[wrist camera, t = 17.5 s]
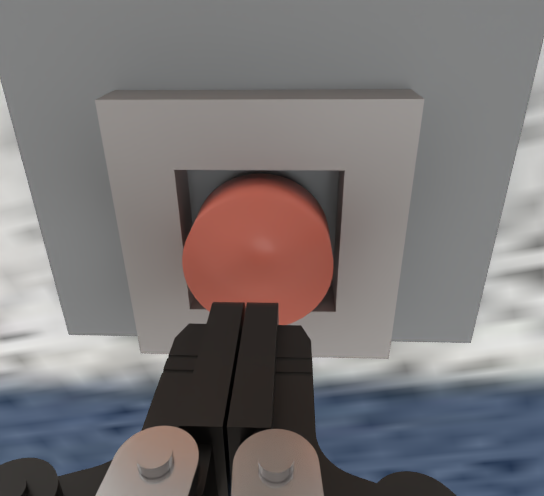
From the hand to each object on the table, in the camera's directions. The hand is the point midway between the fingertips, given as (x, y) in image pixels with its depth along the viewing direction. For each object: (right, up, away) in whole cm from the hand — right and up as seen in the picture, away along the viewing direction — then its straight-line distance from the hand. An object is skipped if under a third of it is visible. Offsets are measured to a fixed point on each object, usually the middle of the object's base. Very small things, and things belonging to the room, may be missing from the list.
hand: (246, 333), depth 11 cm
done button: (0, +2, +4) cm, 5 cm away
